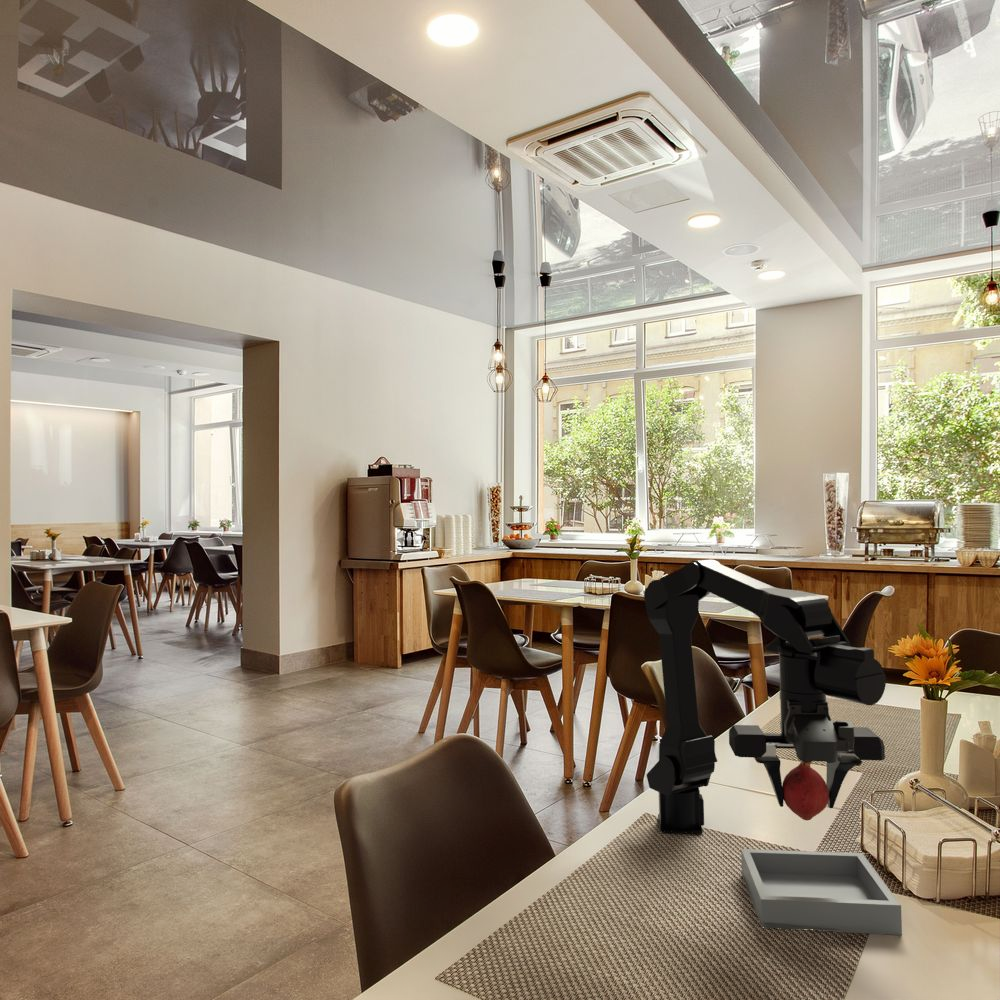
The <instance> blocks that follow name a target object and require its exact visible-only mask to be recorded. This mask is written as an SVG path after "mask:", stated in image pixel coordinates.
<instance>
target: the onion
mask: <svg viewBox="0 0 1000 1000" xmlns="http://www.w3.org/2000/svg"><path fill="white" fill-rule="evenodd" d="M811 765H812V762H803V761H800V763H799V764H798V765H797V766H795V767H794V768H792V769H791V770H790V771H789V772H788V773H787V774H786V775H785V776H784V779H783V781H782V789H783V802H784V804H785V805H786V806H787V807H788V808H789V810H790V811H791V812H792V813H794V815H796V816H797V817H799V818H800V819H802V820H803V821H810V820H812V819H813V818H814V817H816V816H818V815H819V814H820V813H822V811H824V810H825V809H826V808H827V806H828V801H829V791H828V788H827V785H826V780H824V778H823V777H822V775H821V774H820V773H819V772H818V771H816V769H814V768H812V767H811Z"/></svg>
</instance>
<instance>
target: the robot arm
mask: <svg viewBox="0 0 1000 1000" xmlns="http://www.w3.org/2000/svg"><path fill="white" fill-rule="evenodd" d="M710 594H713V595H714V596H717V597H719V598H720V599H723V600H725V601H727V602H728V603H729V602H730V603H732V604H734V605H736V606H738V607H740V608H742V609H744V610H746V611H748V612H750V613H752V614H754V615H755V616H757V617H758V618H759V620H760V622H761V623H762V625H763V626H764V627H765V628H766V629H768V630H769V631H770V632H772V634H774V635H776V636H775V638H774V639H773V640H772V641H771V642H769V643H768V644H767V645H766V646H765V650H766V652H770V653H776V654H779V655H778V657H779V658H778V659H779V660H778V661H779V662H778V663H779V700H780V701H779V702H780V704H779V705H780V706H779V707H780V721H779V724H780V729H779V730H780V733H772V732H771V733H769V732H768V733H767V732H764V731H763V730H762V729H761V727H760V726H759V725H758V724H757V725H749V724H734V725H731V727H730V728H729V729H728V744H729V746H730V749H731V750H732V752H733V754H734V757H739V758H754V760H755V762H756V763H758V764H763V766H764V768H765V770H766V772H767V775H768V777H769V781H770V784H771V787H772V789H773V792H774V794H775V797H776V799H777V802H778V806H779V807H781V808H783V807H784V799H783V789H782V785H783V781H782V775H781V760H780V758H779V756H778V755H777V754H776V753H777V749H786V750H787V749H789V750H791V749H792V750H793V749H794V751H795V753H796V757H797V759H798V760H799V761H800V762H802V761H803V762H811V763H813V762H826V779H825V783H826V785H827V788H828V791H829V801H828V804H827V806H828V808H829V809H833V808H834V806H835V803H836V801H837V799H838V798H837V797H838V795H839V793H840V790H841V787H842V784H843V782H844V780H845V778H846V777H847V774H848V772H849V771H851V770H852V769H853V768H854V767H855V766H856V767H857V766H859V767H860V766H861V765H862V764H863V761H884V760H886V754H885V753H886V752H885V751H886V750H885V748H886V747H885V744H884V740H883V739H882V738H880V737H879V735H877V734H876V733H875V732H874V731H872V730H871V729H870V728H869V727H867V726H866V727H863V726H854V725H853V723H852V721H851V720H832V719H831V716H830V712H829V702H828V701H827V697H831V698H834V699H840V700H844V701H849V702H853V703H857V704H861V705H866V706H874V705H876V704H877V703H878V702H880V700H881V699H882V697H883V696H884V693H885V690H886V685H887V683H886V682H887V675H886V673H885V672H884V669H883V666H882V665H881V663H880V662H879V661H878V659H876V658H875V650H874V649H873V648H870V647H864V646H863V647H855V646H851V645H852V644H851V641H850V640H849V639H848V637H847V635H846V634H845V632H844V630H843V629H842V627H841V626H840V624H839V622H838V621H837V619H836V617H835V616H834V614H833V613H832V610H831V608H830V606H829V601H828V600H827V599H826V598H825V597H823V596H822V595H820V594H817V593H814V592H813V593H812V592H807V591H802V590H795V589H785V588H779V587H775V586H772V585H770V584H767V583H765V582H763V581H761V580H758V579H756V578H754V577H752V576H749V575H746V574H744V573H742V572H739V571H737V570H735V569H733V568H730V567H729V566H725V565H724V564H721V563H720V562H719V561H717V560H715V559H709V558H708V559H694V560H691V561H690V562H688V563H685V565H684V566H682V567H681V568H679V569H677V570H675V571H672V572H671V573H669V574H667V575H664V576H662V577H660V578H659V579H654V580H651V581H650V582H649V583H648V585H647V586H646V588H645V589H644V596H643V599H644V604H645V608H646V609H645V610H646V615H647V618H648V621H649V622H650V623H651V625H652V626H653V628H654V629H655V631H656V632H657V633H658V637H659V645H660V658H661V669H662V679H663V691H664V701H665V716H666V728H665V729H664V731H663V734H662V736H661V739H660V741H659V744H658V761H657V762H656V763H655V765H653V767H651V769H650V770H649V771H648V772H647V773H646V778H647V784H648V787H649V788H650V789H652V790H653V791H655V792H658V814H657V819H658V825H659V830H660V833H666V834H667V833H669V834H672V833H673V834H703V833H704V832H703V826H704V825H705V808H704V807H705V804H704V803H705V801H704V797H703V795H702V794H701V792H700V791H701V790H700V788H702V787H708V786H709V783H710V780H711V776H712V774H713V773H714V772H715V766H716V765H715V764H716V763H717V762H718V759H717V755H716V749H715V747H716V746H715V745H716V744H715V743H716V741H715V738H714V736H713V735H707V734H706V732H705V730H704V728H703V727H702V726H701V724H700V720H699V718H700V717H699V709H698V708H699V707H698V700H697V699H698V698H697V689H696V688H697V687H696V680H695V679H696V677H695V668H694V666H695V665H694V656H693V655H694V654H693V646H692V644H693V643H692V631H693V629H694V626H695V624H696V621H697V620H698V617H699V607H700V604H699V603H700V601H701V600H703V599H704V598H706V597H707V596H709V595H710Z"/></svg>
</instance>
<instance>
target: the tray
mask: <svg viewBox="0 0 1000 1000" xmlns="http://www.w3.org/2000/svg"><path fill="white" fill-rule="evenodd" d="M740 851H741V855H740V856H741V858H740V859H741V876H742V878H743V881H744V883H745V887H746V889H747V892H748V894H749V897H750V900H751V903H752V906H753V908H754V911H755V913H757V914H756V916H758V917H757V919H758V922H759V921H760V922H759V924H761V925H760V926H761V927H760V928H762V927H764V928H763V929H765V928H776V929H775V930H786V929H809V930H810V929H813V930H825V931H824V932H827V931H835V932H834V933H847V934H848V933H851V934H853V933H854V934H870V935H871V934H872V935H892V936H893V935H894V936H895V935H896V936H902V935H903V927H902V925H903V922H902V921H903V920H902V918H903V917H902V905H901V903H900V902H899V900H898V899H897V898H896V896H895V895H894V894H893V892H892V891H891V890H890V889H889V887H888V886H887V884H886V882H884V880H883V879H882V877H881V876H880V875H879V873H878V872H877V871H876V870H875V868H874V866H873V865H872V864H871V863H870V862H869V860H868V858H866V855H864V853H863V852H862V853H861V852H839V851H810V850H807V851H806V850H785V849H784V850H782V849H781V850H779V849H758V848H757V849H755V848H752V849H751V848H741V849H740ZM777 928H779V929H777ZM780 928H781V929H780Z"/></svg>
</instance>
